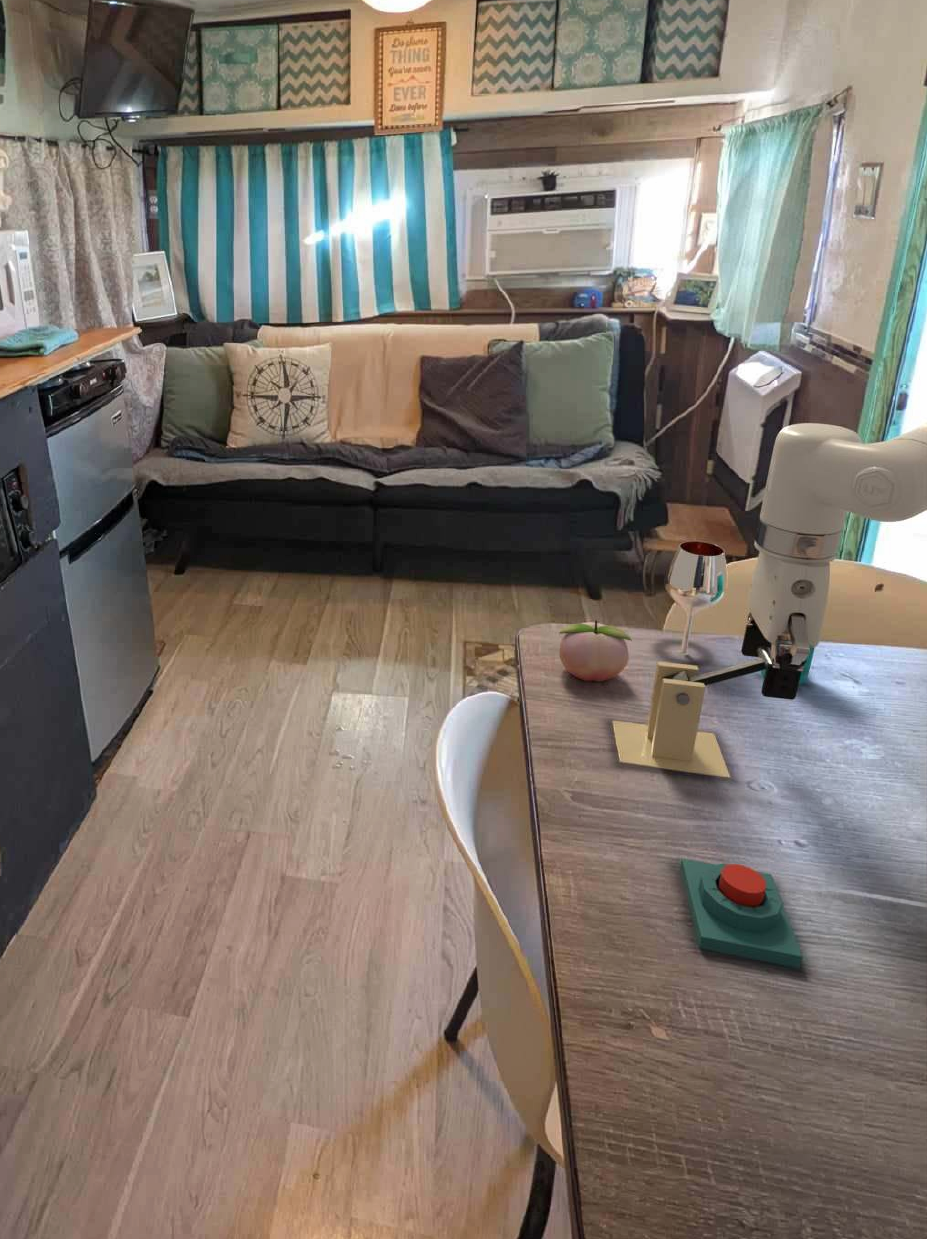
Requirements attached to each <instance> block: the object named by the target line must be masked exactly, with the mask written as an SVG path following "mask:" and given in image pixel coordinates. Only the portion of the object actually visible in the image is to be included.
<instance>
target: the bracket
mask: <svg viewBox="0 0 927 1239" xmlns="http://www.w3.org/2000/svg"><path fill="white" fill-rule="evenodd" d="M655 669H656V670H655V676H654V683H653V688H652V695H651V699H650V706H649V713H648V718H647V724H643V723H636V722H629V721H628V722H627V721H621V720H614V719H613V720H611V721H612V728H613V733H614V739H615V744H616V748H617V755H618V760H619V763H624V764H628V765H629V764H630V765H637V766H643V767H650V768H651V767H652V768H658V769H665V770H672V771H678V772H685V773H691V774H692V773H693V774H699V775H704V776H705V775H707V776H713V777H718V778H719V777H720V778H727V779H731V775H730V772H729V769H728V766H727V765H726V762H725V759H724V756H723V753H722V750H721V748H720V746H719V742H718V740H717V737H716V735H715V733H713V732H712V733H711V732H705V731H698V729H699V724H700V719H701V714H702V708H703V703H704V698H705V692H706V686H705V685H704V683H698V682H690V681H681V680H672V679H663V681H662V677H666V676H669V675H673V674H676V673H680V672H683V671H686V673H687V675H688V677H689V678H690V677H694V676H697V675H699V672H700V669H699V667H698V665H692V664H686V663H685V664H683V663H675V662H665V661H657V663H656V668H655Z"/></svg>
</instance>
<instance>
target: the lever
mask: <svg viewBox="0 0 927 1239" xmlns="http://www.w3.org/2000/svg"><path fill="white" fill-rule="evenodd" d="M757 654H758V656H759V657H758V658H756V659H751V660H749V661H745V662H741V663H737V664H734V665H731V666H727V667H723V668H719V669H716V670H715V669H714V670H713V671H709V672H705V673H702V674H698V675H697V676H694V677H690V678H689V677H688V675H687V673H686V671H683V672H680V673H676V674H673V675H669V676H666V677H662V681H663V679H672V680H681V681H690V682H698V683H704V685H705V687H706V686H709V685H713V684H717V683H721V682H724V681H728V680H732V679H736V678H740V677H742V676H746V675H750V674H754V673H758V672H761V671H762V670H765V669H766V667H767V663H771V649H770V648H769V647H767V646H762V647H760V648H758V650H757Z"/></svg>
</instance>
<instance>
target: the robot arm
mask: <svg viewBox="0 0 927 1239" xmlns="http://www.w3.org/2000/svg"><path fill="white" fill-rule="evenodd" d="M862 440H863V439H862V438H861V436H860V435H859V434H858V433H857V432H856V431H854V430H852V429H849V428H846V427H843V426H840V425H834V424H827V423H815V422H806V423H805V422H803V423H795V424H790V425H787V426H786V427H783V428H782V429H781V430H780V431H779V432H778V434H777V436H776V438H775V441H774V444H773V449H772V454H771V459H770V464H769V468H768V475H767V479H766V484H765V489H764V494H763V497H762V498H763V499H762V503H761V508H760V514H759V519H758V523H757V527H756V533H755V538H754V544H753V545H754V548H755V549H756V550H757V551H758V555H757V560H756V563H755V567H754V571H753V574H752V579H751V584H750V589H749V595H748V609H749V613H748V614H747V624H746V625H745V631H744V635H743V639H742V640H743V641H742V645H741V650H740V652H741V654H742V655H743V656H745V657H752V658H760V657H759V656H758V654H757V650H758V648H760V647H762V646H767V647H769V648H770V649H771V663H767V667H766V672H765V676H764V677H763V682H762V685H761V690H760V692H761V694H762V696H763V697H765V698H773V699H780V700H782V699H784V700H789V701H790V700H791V701H793V700H795V699H796V696H797V693H798V689H799V685H800V684H799V681H800V676H801V672H802V671H803V669H804V664H805V663H806V661H807V660H806V658H807V657H808V655H809V654H810V647H811V648H815V649H816V648H817V647H818V646H819V644H820V641H821V636H822V631H823V626H824V620H825V615H826V609H827V604H828V596H829V588H830V579H831V578H830V577H831V564H830V562H833V561H834V560H836V559H837V554H838V551H839V547H840V542H841V539H842V534H843V530H844V526H845V521H846V518H847V513H848V512H849V513H852V514H854V515H856V516H858V517H861V518H864V519H867V520H871V521H875V522H881V523H896V522H902V521H906V520H909V519H912V518H914V517H916V516H918V515H920V514H922V513H924V512H926V511H927V423H925V424H923V425H921V426H919V427H917V428H914V429H912V430H910V431H908V432H906V433H902V434H899V435H897V436H895V437H892V438H890V439H887V440H885V441H879V442H872V443H871V442H869V443H863V441H862ZM781 635H787V636H790V638H791V640H785V639H779V636H781ZM780 646H786V647H791V649H790V653H785V654H783V655H782V656H781V657H780Z"/></svg>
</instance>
